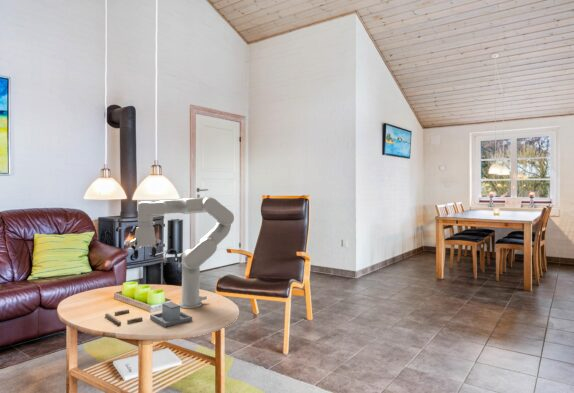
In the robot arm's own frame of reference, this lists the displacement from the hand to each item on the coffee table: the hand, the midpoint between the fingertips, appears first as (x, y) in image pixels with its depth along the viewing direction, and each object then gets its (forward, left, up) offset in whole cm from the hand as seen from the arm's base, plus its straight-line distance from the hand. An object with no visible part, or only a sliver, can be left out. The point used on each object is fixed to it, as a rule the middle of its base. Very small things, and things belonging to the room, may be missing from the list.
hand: (145, 256), depth 218 cm
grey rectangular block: (-2, +26, -28) cm, 38 cm away
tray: (-2, +26, -28) cm, 38 cm away
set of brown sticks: (+15, +9, -28) cm, 33 cm away
